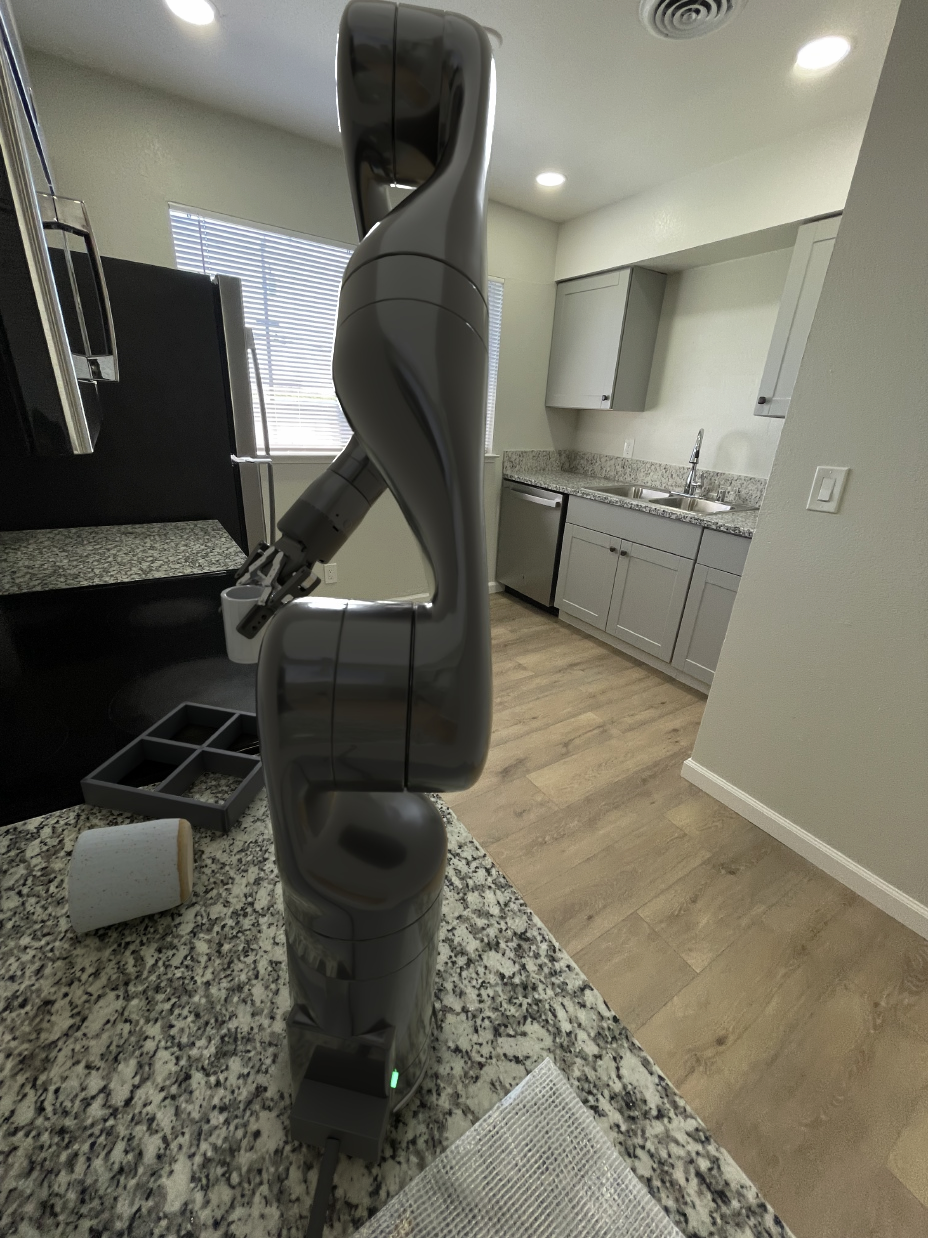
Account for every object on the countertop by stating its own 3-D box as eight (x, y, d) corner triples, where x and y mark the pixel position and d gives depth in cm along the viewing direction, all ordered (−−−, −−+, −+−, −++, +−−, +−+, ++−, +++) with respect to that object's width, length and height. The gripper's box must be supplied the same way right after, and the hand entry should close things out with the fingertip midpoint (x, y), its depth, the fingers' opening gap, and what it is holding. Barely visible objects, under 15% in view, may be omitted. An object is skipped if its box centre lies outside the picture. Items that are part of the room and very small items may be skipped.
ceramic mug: (195, 921, 43) (184, 852, 40) (77, 956, 40) (56, 884, 37) (198, 832, 52) (189, 770, 49) (101, 854, 48) (86, 789, 46)
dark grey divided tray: (227, 833, 52) (224, 810, 51) (85, 804, 54) (79, 781, 53) (300, 740, 67) (299, 721, 66) (187, 720, 69) (184, 701, 67)
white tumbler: (261, 666, 60) (255, 603, 57) (218, 660, 60) (210, 597, 57) (283, 647, 65) (279, 588, 62) (243, 641, 65) (237, 582, 62)
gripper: (278, 486, 65) (188, 589, 62) (332, 508, 55) (228, 632, 52) (318, 524, 70) (237, 621, 67) (374, 550, 60) (281, 664, 58)
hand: (233, 625), depth 60 cm, fingers closed on white tumbler, 5 cm apart
